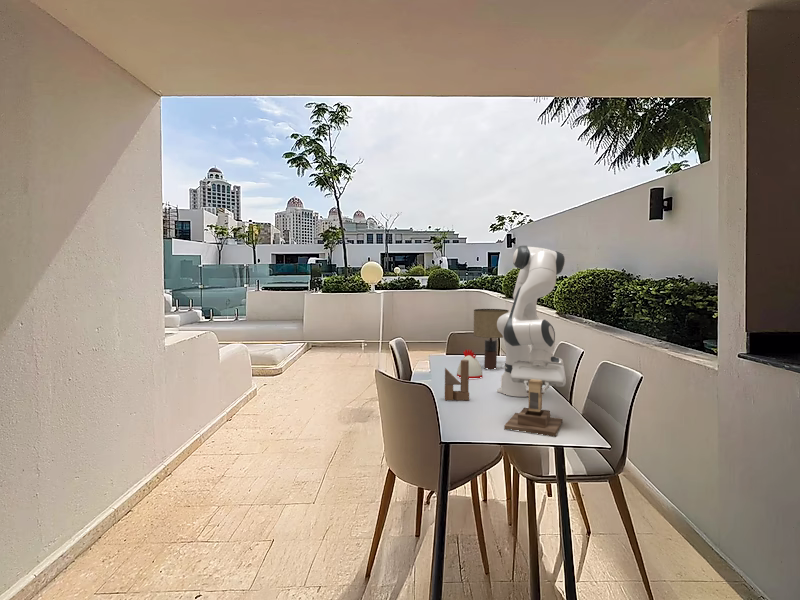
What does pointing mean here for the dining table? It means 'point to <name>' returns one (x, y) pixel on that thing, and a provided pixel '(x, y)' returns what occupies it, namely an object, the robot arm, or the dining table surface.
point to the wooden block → (457, 383)
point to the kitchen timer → (471, 365)
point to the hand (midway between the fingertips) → (535, 392)
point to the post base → (534, 422)
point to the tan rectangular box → (535, 395)
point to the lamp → (488, 332)
